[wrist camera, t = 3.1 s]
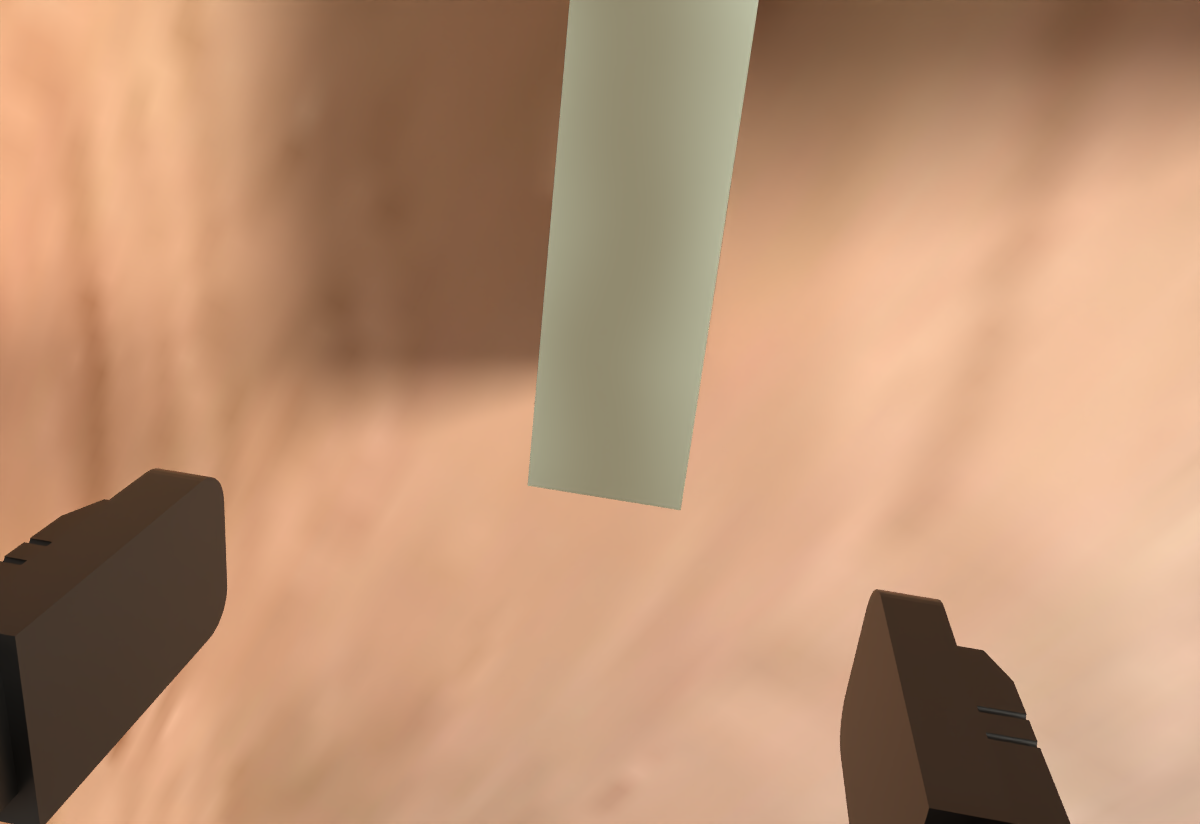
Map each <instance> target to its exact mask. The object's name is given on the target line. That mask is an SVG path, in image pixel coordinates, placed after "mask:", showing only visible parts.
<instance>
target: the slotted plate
mask: <svg viewBox="0 0 1200 824" xmlns="http://www.w3.org/2000/svg"><path fill="white" fill-rule="evenodd" d="M758 3H759V0H570V4H569V15H568V27H567V38H566V50H565V61H564V73H563V84H562V96H561V107H560V119H559V130H558V142H557V154H556V165H555V177H554V188H553V200H552V211H551V223H550V234H549V246H548V257H547V269H546V280H545V292H544V303H543V315H542V327H541V338H540V350H539V361H538V373H537V384H536V396H535V407H534V419H533V430H532V442H531V453H530V465H529V476H528V486H534V487H540V488H546V489H552V490H559V491H565V492H571V493H577V494H583V495H590V496H596V497H602V498H608V499H614V500H620V501H627V502H633V503H639V504H645V505H651V506H658V507H664V508H670V509H676V510H681V504H682V498H683V491H684V485H685V478H686V472H687V466H688V459H689V453H690V446H691V440H692V433H693V427H694V421H695V414H696V408H697V401H698V395H699V388H700V382H701V375H702V369H703V363H704V356H705V350H706V343H707V337H708V330H709V324H710V317H711V311H712V304H713V297H714V291H715V284H716V278H717V271H718V265H719V258H720V252H721V245H722V239H723V232H724V226H725V219H726V213H727V206H728V199H729V192H730V186H731V179H732V172H733V166H734V159H735V153H736V146H737V140H738V133H739V127H740V120H741V114H742V107H743V101H744V94H745V87H746V81H747V74H748V68H749V61H750V55H751V48H752V42H753V35H754V29H755V22H756V16H757V9H758Z"/></svg>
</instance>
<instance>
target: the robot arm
mask: <svg viewBox="0 0 1200 824" xmlns="http://www.w3.org/2000/svg"><path fill="white" fill-rule="evenodd" d="M226 595H227V570H226V543H225V516H224V496H223V490H222V487H221V485H220V483H219V481H218V480H216V479H215V478H212V477H206V476H200V475H194V474H188V473H182V472H176V471H170V470H164V469H152V470H150V471H148V472H146V473H145V474H144V475H142V476H141V477H140V478H138V479H137V480H136V481H134V482H133V483H131V484H130V485H129V486H127V487H126V488H125V489H123V490H122V491H121V492H119V493H118V494H117V495H115V496H114V497H113V498H111V499H110V500H105V499H104V500H101V501H99V502H96V503H94V504H91V505H88V506H86V507H83V508H81V509H78V510H75V511H73V512H70V513H68V514H65V515H62V516H61V517H59V518H58V519H56V520H55V521H54V522H52V523H51V524H49V525H48V526H47V527H45V528H44V529H42V530H41V531H40V532H38V533H37V534H35V535H34V536H32V537H31V538H30V542H29V543H25V542H24V543H23V544H21V545H20V546H18V547H17V548H16V549H14V550H13V551H11V552H10V553H9V554H7V555H6V556H5V558H4V561H3V562H1V561H0V821H1V822H6V823H11V824H46V823H47V822H48V821H49V819H50V818H51V817H52V816H53V815H54V814H55V813H56V811H57V810H58V809H59V808H60V807H61V806H62V805H63V804H64V802H65V801H66V800H67V799H68V798H69V797H70V796H71V795H72V793H73V792H74V791H75V790H76V789H77V788H78V787H79V785H80V784H81V783H82V782H83V781H84V780H85V779H86V778H87V776H88V775H89V774H90V773H91V772H92V771H93V770H94V768H95V767H96V766H97V765H98V764H99V763H100V762H101V761H102V759H103V758H104V757H105V756H106V755H107V754H108V753H109V751H110V750H111V749H112V748H113V747H114V746H115V745H116V744H117V742H118V741H119V740H120V739H121V738H122V737H123V736H124V735H125V733H126V732H127V731H128V730H129V729H130V728H131V727H132V725H133V724H134V723H135V722H136V721H137V720H138V719H139V718H140V716H141V715H142V714H143V713H144V712H145V711H146V710H147V708H148V707H149V706H150V705H151V704H152V703H153V702H154V701H155V699H156V698H157V697H158V696H159V695H160V694H161V693H162V692H163V690H164V689H165V688H166V687H167V686H168V685H169V684H170V682H171V681H172V680H173V679H174V678H175V677H176V676H177V675H178V673H179V672H180V671H181V670H182V669H183V668H184V667H185V665H186V664H187V663H188V662H189V661H190V660H191V659H192V658H193V656H194V655H195V654H196V653H197V652H198V651H199V650H200V649H201V647H202V646H203V645H204V644H205V643H206V642H207V641H208V639H209V638H210V637H211V636H212V634H213V633H214V631H215V629H216V628H217V626H218V624H219V621H220V619H221V616H222V613H223V610H224V606H225V601H226ZM840 751H841V761H842V769H843V777H844V785H845V793H846V801H847V809H848V817H849V824H1070V821H1069V819H1068V816H1067V814H1066V811H1065V809H1064V806H1063V804H1062V801H1061V799H1060V796H1059V794H1058V791H1057V789H1056V787H1055V784H1054V782H1053V779H1052V777H1051V774H1050V772H1049V769H1048V767H1047V764H1046V762H1045V759H1044V757H1043V754H1042V752H1041V749H1040V748H1037V739H1036V737H1035V734H1034V732H1033V729H1032V727H1031V724H1030V722H1029V720H1026V712H1025V709H1024V707H1023V704H1022V702H1021V699H1020V697H1019V694H1018V692H1017V689H1016V687H1015V684H1014V682H1013V681H1012V680H1011V679H1010V678H1009V676H1008V675H1007V674H1006V673H1005V672H1004V671H1003V670H1002V669H1001V668H1000V667H999V666H998V665H997V664H996V663H995V662H994V661H993V660H992V659H991V658H990V657H989V656H988V655H987V654H986V653H985V652H984V651H983V650H978V649H972V648H966V647H960V646H957V645H956V642H955V639H954V636H953V633H952V630H951V627H950V624H949V621H948V618H947V615H946V612H945V609H944V606H943V603H942V602H941V601H940V600H938V599H932V598H926V597H920V596H914V595H908V594H902V593H896V592H890V591H884V590H878V589H876V590H874V591H873V593H872V595H871V597H870V599H869V602H868V606H867V609H866V613H865V617H864V621H863V626H862V630H861V634H860V638H859V642H858V646H857V650H856V654H855V658H854V662H853V666H852V670H851V675H850V679H849V683H848V687H847V691H846V695H845V700H844V705H843V711H842V719H841V731H840Z"/></svg>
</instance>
